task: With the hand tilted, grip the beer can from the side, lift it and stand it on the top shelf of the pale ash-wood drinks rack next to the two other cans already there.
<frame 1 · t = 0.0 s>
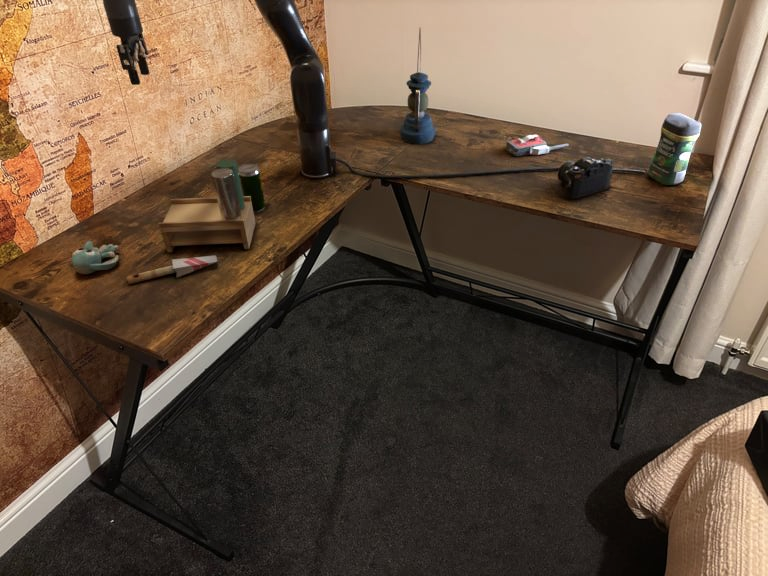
hand: (141, 79, 149), 29 cm above the table, tool pointing down, fingers open, 8 cm apart
rack: (213, 237, 140), on the table
beer can: (255, 209, 152), on the table
paintbrush: (174, 274, 129), on the table
coffee jar: (664, 179, 162), on the table
film camera: (577, 189, 158), on the table
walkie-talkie: (535, 150, 179), on the table
stuffed animal: (99, 265, 132), on the table
lantern: (417, 138, 188), on the table
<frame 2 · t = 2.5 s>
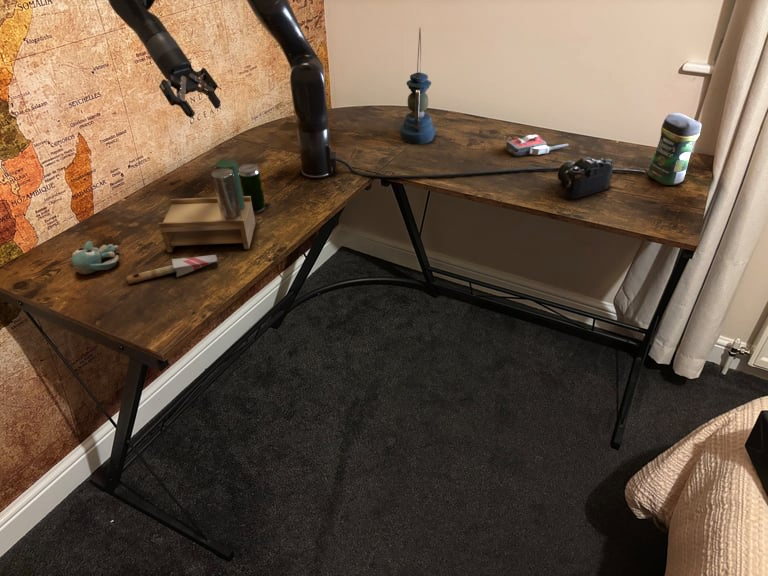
hand: (205, 111, 143), 24 cm above the table, tool tilted 40°, fingers open, 8 cm apart
nothing on the table moved.
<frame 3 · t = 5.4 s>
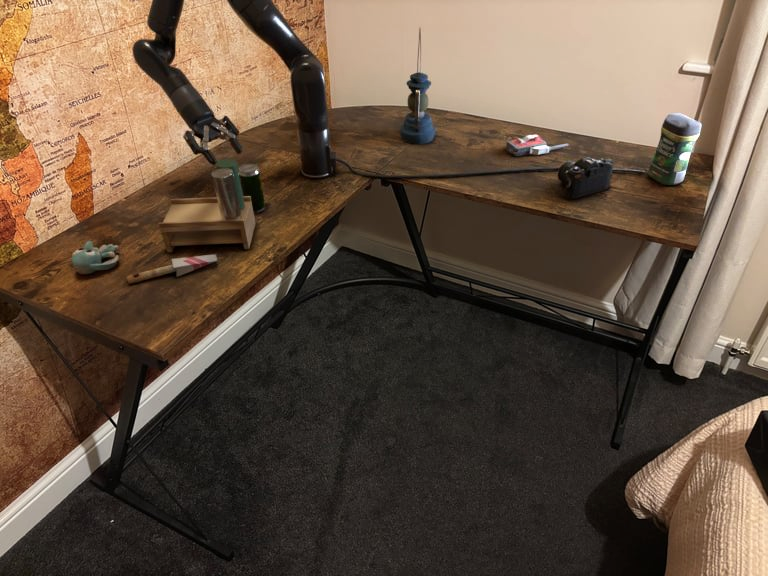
hand: (228, 158, 148), 13 cm above the table, tool tilted 45°, fingers open, 8 cm apart
nothing on the table moved.
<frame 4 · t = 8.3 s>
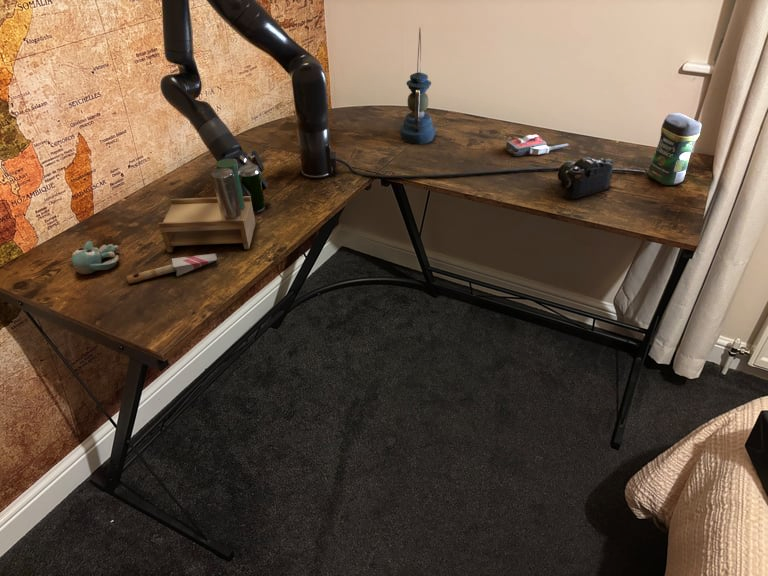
hand: (257, 192, 148), 5 cm above the table, tool tilted 45°, fingers closed on beer can, 5 cm apart
beer can: (255, 209, 152), on the table, touching gripper
everything else where it was.
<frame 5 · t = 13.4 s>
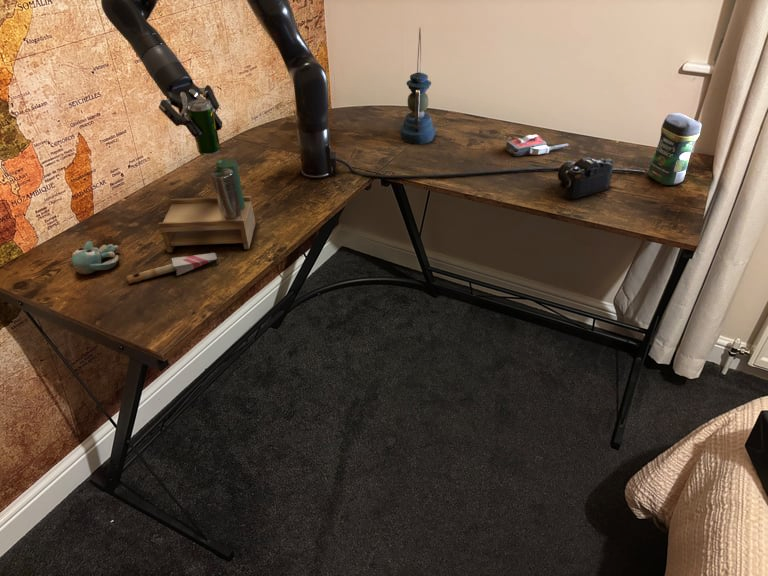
hand: (210, 132, 130), 25 cm above the table, tool tilted 45°, fingers closed on beer can, 5 cm apart
beer can: (209, 152, 134), point 20 cm above the table, touching gripper
everything else where it was.
when the fingers open (12 cm above the table, at t = 18.6 s): beer can stays where it is, resting on rack.
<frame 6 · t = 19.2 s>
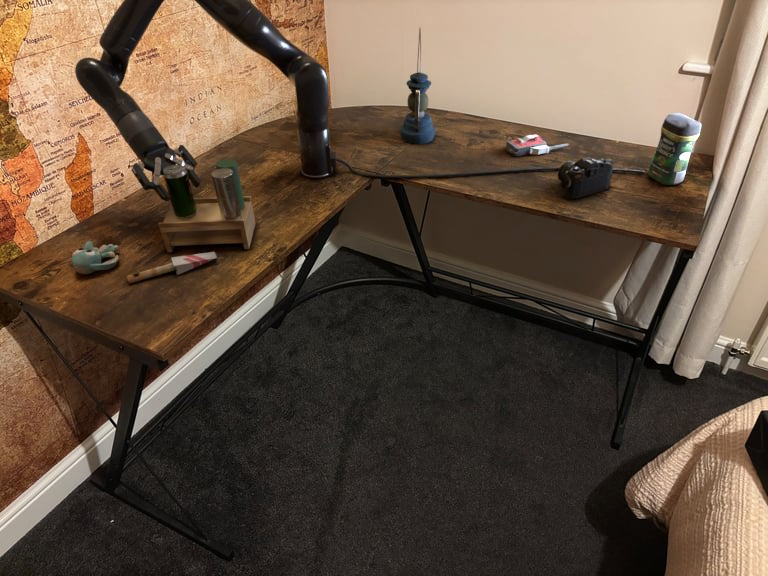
hand: (183, 192, 131), 13 cm above the table, tool tilted 45°, fingers open, 8 cm apart
beer can: (186, 214, 136), point 7 cm above the table, touching rack
everything else where it was.
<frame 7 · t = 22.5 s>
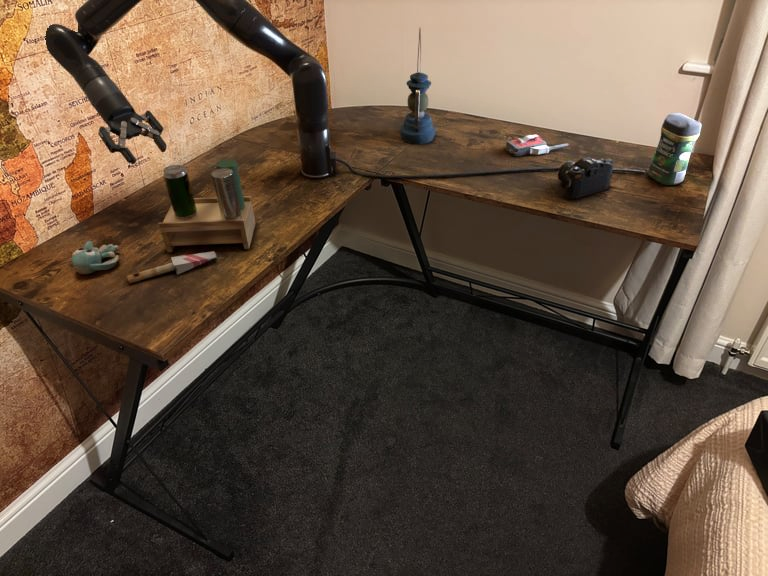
hand: (150, 156, 136), 19 cm above the table, tool tilted 45°, fingers open, 8 cm apart
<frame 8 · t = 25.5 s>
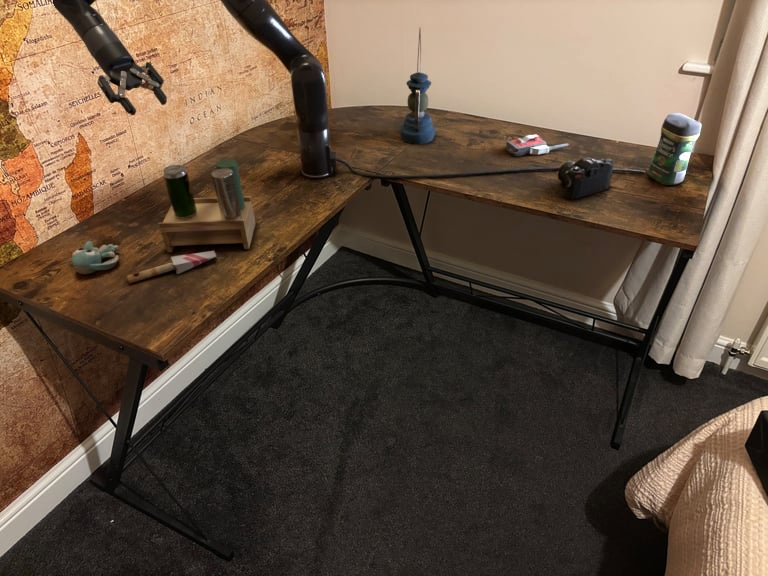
hand: (150, 108, 134), 29 cm above the table, tool tilted 45°, fingers open, 8 cm apart
at the end: beer can inside the target area on the rack (0.5 cm from its centre), point 6.8 cm above the rack's base; beer can tilted 0°; the gripper is holding nothing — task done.
